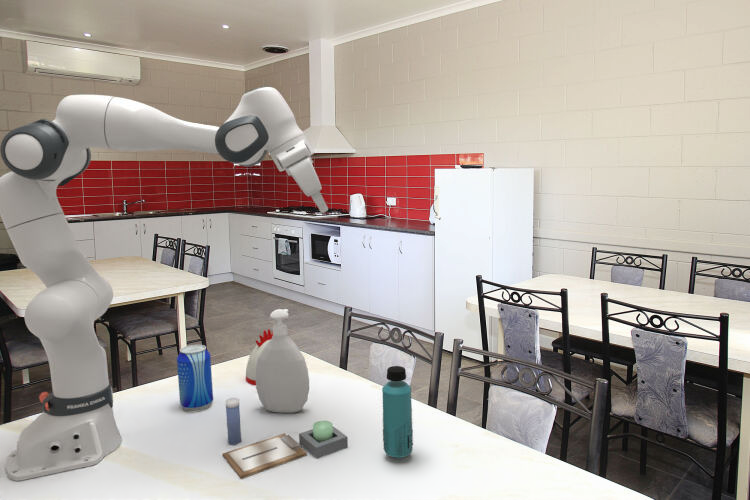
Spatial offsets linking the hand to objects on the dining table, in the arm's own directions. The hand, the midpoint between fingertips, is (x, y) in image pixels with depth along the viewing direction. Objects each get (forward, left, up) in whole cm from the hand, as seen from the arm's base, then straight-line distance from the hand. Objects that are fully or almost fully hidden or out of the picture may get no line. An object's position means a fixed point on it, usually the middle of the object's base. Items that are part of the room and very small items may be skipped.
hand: (324, 210), depth 120 cm
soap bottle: (-4, +18, -53) cm, 56 cm away
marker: (-21, +9, -53) cm, 57 cm away
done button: (-5, -5, -52) cm, 52 cm away
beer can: (-22, +34, -53) cm, 66 cm away
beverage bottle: (+5, -19, -53) cm, 57 cm away
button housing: (-5, -5, -53) cm, 53 cm away
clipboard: (-18, -1, -53) cm, 56 cm away
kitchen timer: (+2, +41, -53) cm, 67 cm away
